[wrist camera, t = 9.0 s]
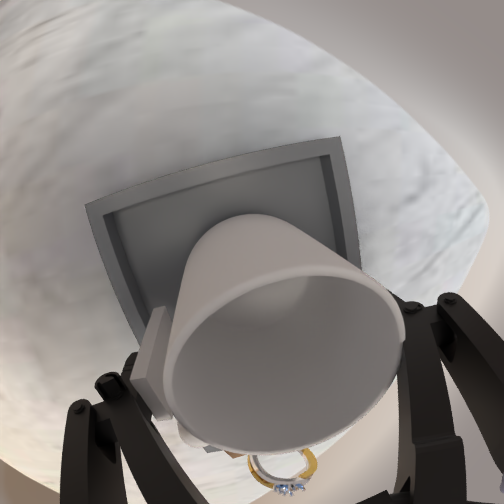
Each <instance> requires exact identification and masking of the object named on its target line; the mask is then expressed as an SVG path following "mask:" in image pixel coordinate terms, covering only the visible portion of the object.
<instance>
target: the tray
mask: <svg viewBox="0 0 504 504" xmlns="http://www.w3.org/2000/svg"><path fill="white" fill-rule="evenodd" d="M85 208H86V212H87V215H88V219H89V222H90V225H91V228H92V232H93V235H94V238H95V241H96V244H97V247H98V249H99V252H100V255H101V258H102V261H103V263H104V266H105V269H106V271H107V274H108V276H109V279H110V281H111V284H112V286H113V289H114V291H115V294H116V296H117V298H118V301H119V303H120V305H121V307H122V310H123V312H124V314H125V316H126V318H127V321H128V323H129V325H130V327H131V329H132V331H133V333H134V335H135V337H136V339H137V341H138V343H139V345H140V346H141V343H142V340H143V337H144V334H145V331H146V328H147V325H148V323H149V320H150V317H151V314H152V312H153V309H154V308H158V307H162V306H165V307H166V309H167V312H168V314H169V317H170V319H171V321H172V323H173V318H174V314H175V309H176V305H177V300H178V296H179V291H180V287H181V282H182V278H183V274H184V270H185V266H186V263H187V260H188V258H189V255H190V253H191V251H192V249H193V248H194V246H195V245H196V243H197V242H198V241H199V239H200V238H201V237H202V236H203V235H204V234H205V233H206V232H207V231H208V230H210V229H211V228H212V227H214V226H215V225H216V224H218V223H220V222H222V221H224V220H226V219H229V218H232V217H235V216H239V215H245V214H263V215H269V216H273V217H276V218H279V219H281V220H284V221H286V222H288V223H290V224H291V225H293V226H295V227H296V228H298V229H300V230H301V231H303V232H304V233H306V234H307V235H309V236H310V237H312V238H314V239H315V240H317V241H318V242H320V243H321V244H323V245H324V246H326V247H327V248H329V249H330V250H332V251H333V252H335V253H336V254H338V255H339V256H341V257H342V258H344V259H345V260H347V261H348V262H350V263H351V264H353V265H354V266H356V267H357V268H359V269H360V270H362V268H361V258H360V249H359V240H358V232H357V225H356V218H355V211H354V205H353V198H352V192H351V187H350V181H349V176H348V171H347V166H346V161H345V156H344V151H343V147H342V142H341V138H340V136H339V137H332V138H325V139H319V140H313V141H307V142H301V143H295V144H290V145H285V146H280V147H275V148H270V149H265V150H260V151H256V152H251V153H247V154H243V155H239V156H234V157H230V158H226V159H222V160H218V161H215V162H211V163H207V164H203V165H200V166H196V167H193V168H189V169H186V170H182V171H179V172H176V173H172V174H169V175H166V176H163V177H160V178H157V179H153V180H150V181H147V182H144V183H142V184H139V185H136V186H133V187H130V188H127V189H124V190H122V191H119V192H116V193H114V194H111V195H108V196H106V197H103V198H100V199H98V200H95V201H93V202H90V203H88V204H85ZM203 448H204V449H205V451H206V452H207V453H210V452H216V451H222V450H221V449H218V448H216V447H213V446H211V445H208V446H205V447H203Z"/></svg>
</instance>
